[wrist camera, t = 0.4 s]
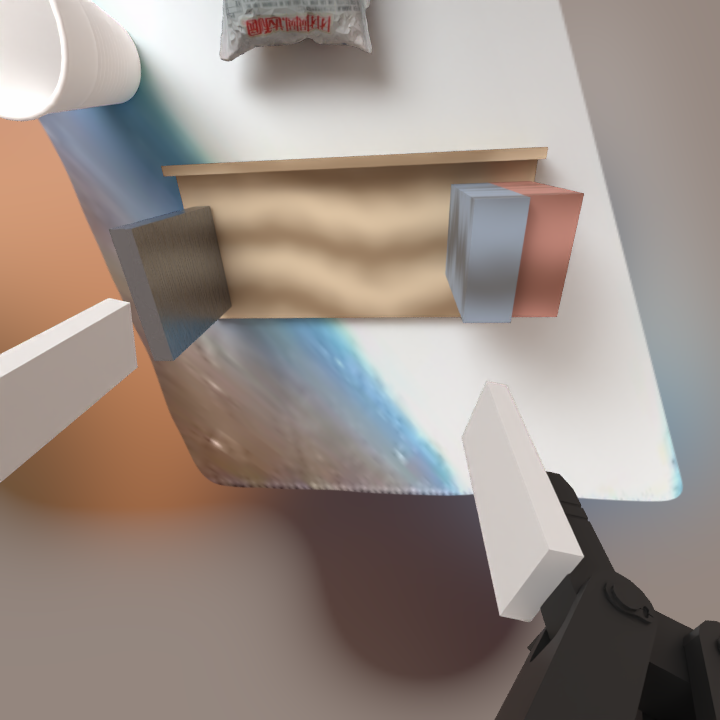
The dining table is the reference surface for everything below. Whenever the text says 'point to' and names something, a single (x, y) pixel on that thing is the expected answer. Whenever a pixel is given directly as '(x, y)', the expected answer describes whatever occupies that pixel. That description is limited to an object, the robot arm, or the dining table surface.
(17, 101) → the cup
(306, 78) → the dining table surface
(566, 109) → the dining table surface
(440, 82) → the dining table surface
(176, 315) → the bookend
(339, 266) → the wooden book rack
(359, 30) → the packaged food
